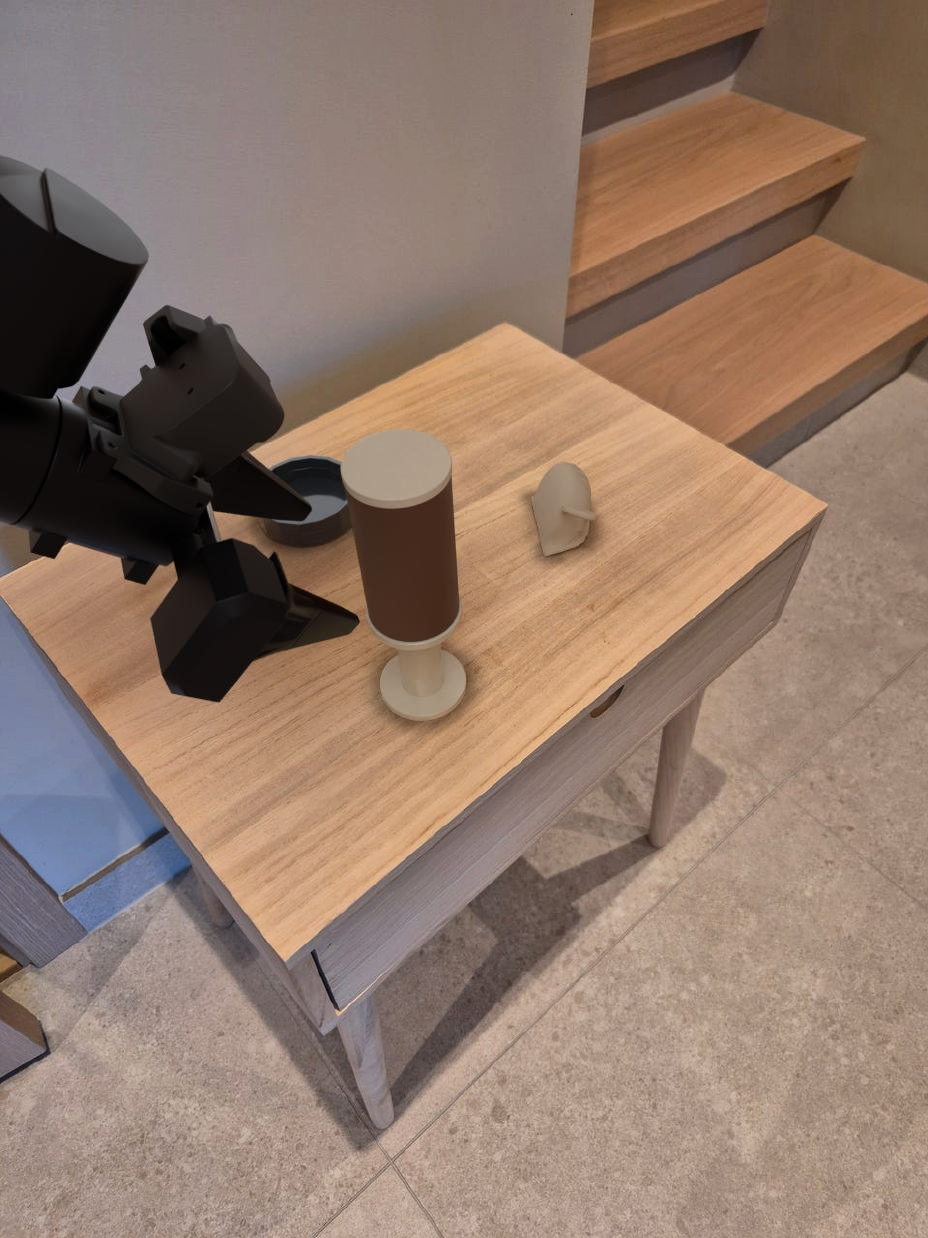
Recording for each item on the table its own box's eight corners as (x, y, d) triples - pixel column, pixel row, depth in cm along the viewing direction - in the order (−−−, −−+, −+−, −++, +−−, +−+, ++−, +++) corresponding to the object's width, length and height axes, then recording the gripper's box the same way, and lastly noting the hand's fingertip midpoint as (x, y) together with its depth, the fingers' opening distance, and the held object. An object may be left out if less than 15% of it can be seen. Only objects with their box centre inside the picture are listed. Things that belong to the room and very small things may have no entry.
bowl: (316, 561, 65) (311, 538, 63) (238, 524, 68) (230, 500, 66) (380, 499, 69) (376, 476, 67) (303, 467, 72) (298, 443, 70)
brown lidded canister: (425, 657, 48) (409, 514, 40) (348, 619, 50) (317, 475, 42) (478, 595, 51) (472, 449, 43) (403, 561, 53) (384, 416, 45)
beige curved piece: (580, 493, 69) (585, 440, 65) (598, 567, 63) (605, 514, 59) (531, 497, 69) (532, 444, 65) (544, 571, 63) (547, 518, 59)
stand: (435, 735, 54) (426, 659, 48) (363, 697, 56) (346, 619, 50) (482, 673, 57) (480, 594, 51) (413, 639, 59) (402, 559, 53)
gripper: (159, 439, 26) (492, 577, 37) (96, 202, 38) (364, 360, 48) (9, 673, 30) (346, 736, 41) (-6, 396, 42) (261, 502, 53)
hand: (329, 566), depth 46 cm, fingers open, 9 cm apart
